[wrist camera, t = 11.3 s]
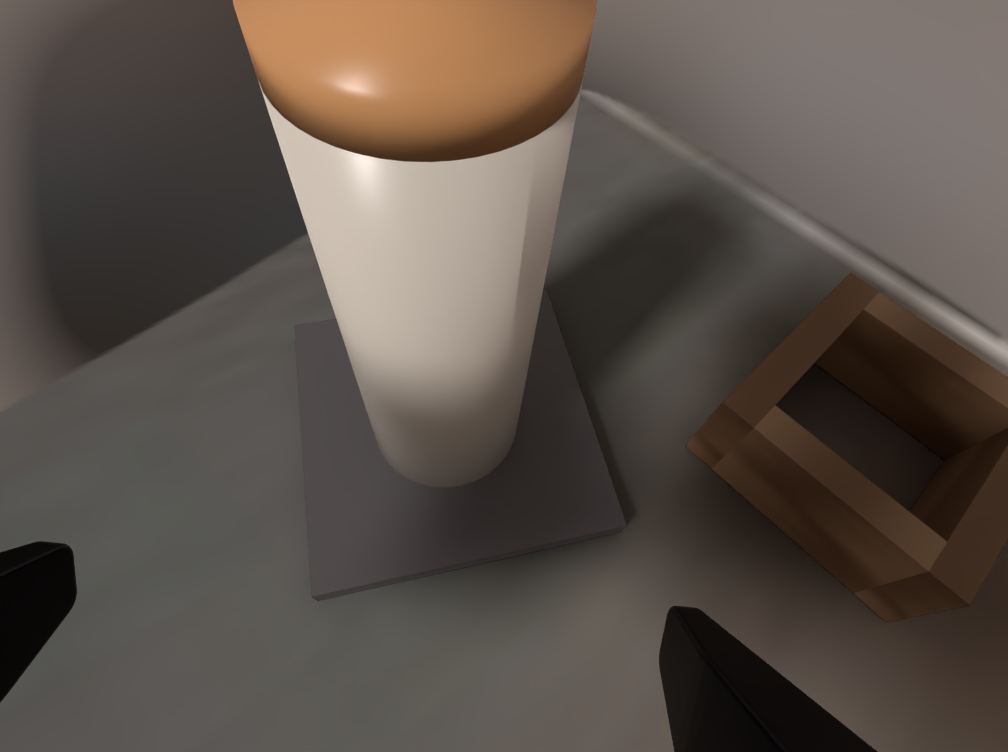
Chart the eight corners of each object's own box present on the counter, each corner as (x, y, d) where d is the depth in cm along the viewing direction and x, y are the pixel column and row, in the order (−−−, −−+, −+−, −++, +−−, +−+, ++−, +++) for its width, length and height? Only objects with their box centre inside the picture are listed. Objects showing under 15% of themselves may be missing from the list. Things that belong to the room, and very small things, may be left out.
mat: (621, 531, 19) (627, 525, 19) (317, 601, 18) (311, 596, 17) (543, 299, 24) (546, 287, 23) (299, 336, 22) (294, 325, 22)
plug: (532, 470, 19) (647, 74, 7) (384, 501, 18) (231, 110, 6) (499, 349, 22) (544, -103, 10) (366, 371, 21) (232, -93, 9)
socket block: (988, 462, 21) (1074, 422, 18) (886, 622, 18) (970, 605, 15) (802, 327, 24) (850, 272, 21) (685, 446, 21) (722, 402, 18)
